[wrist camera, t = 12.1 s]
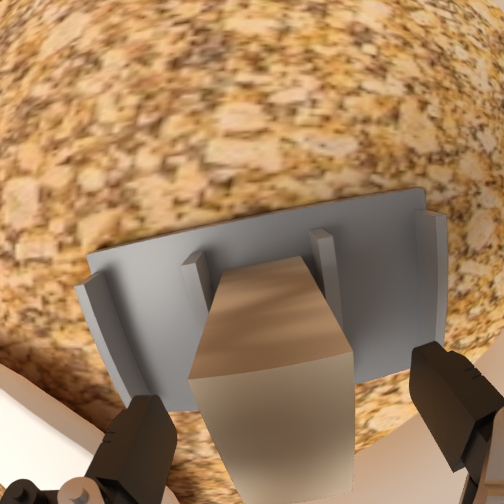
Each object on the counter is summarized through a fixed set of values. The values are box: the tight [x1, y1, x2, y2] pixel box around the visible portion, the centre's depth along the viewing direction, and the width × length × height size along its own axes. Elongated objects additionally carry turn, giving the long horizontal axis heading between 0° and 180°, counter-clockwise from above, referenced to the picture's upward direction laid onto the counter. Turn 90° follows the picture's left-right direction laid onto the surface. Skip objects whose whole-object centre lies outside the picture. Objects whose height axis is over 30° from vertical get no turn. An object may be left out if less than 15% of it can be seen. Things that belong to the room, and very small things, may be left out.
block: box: [187, 256, 355, 504], centre depth 10 cm, size 4×6×8 cm, turn 11°
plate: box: [0, 364, 180, 504], centre depth 17 cm, size 28×6×27 cm
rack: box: [74, 187, 448, 412], centre depth 14 cm, size 17×10×3 cm, turn 101°
